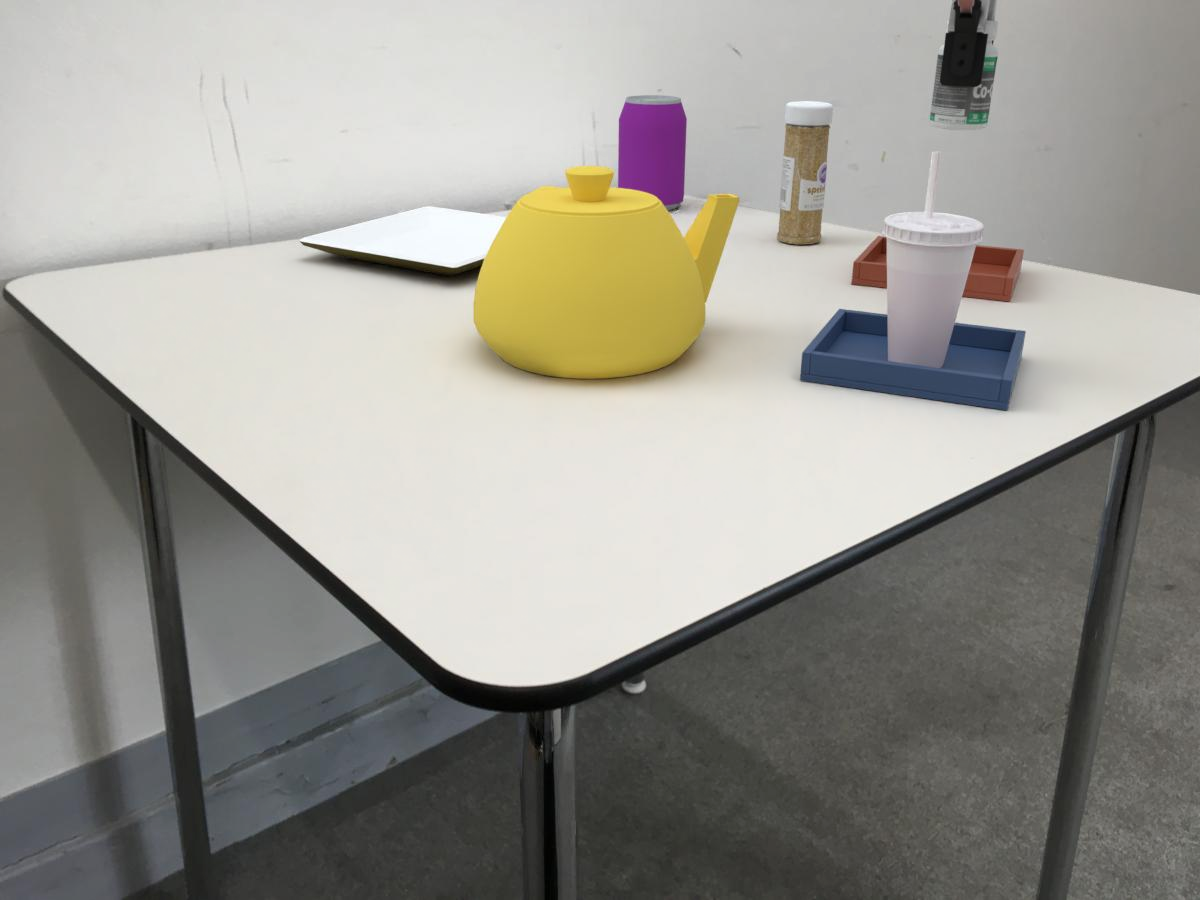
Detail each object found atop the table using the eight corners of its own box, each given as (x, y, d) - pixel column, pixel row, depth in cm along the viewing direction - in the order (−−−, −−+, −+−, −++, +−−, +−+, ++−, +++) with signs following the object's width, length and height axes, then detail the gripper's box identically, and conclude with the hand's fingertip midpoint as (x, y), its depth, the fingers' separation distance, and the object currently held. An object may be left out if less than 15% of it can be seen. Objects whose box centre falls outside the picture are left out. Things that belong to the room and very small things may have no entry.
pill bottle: (971, 132, 89) (986, 22, 86) (918, 127, 92) (931, 20, 89) (996, 127, 93) (1012, 20, 89) (945, 122, 96) (958, 18, 92)
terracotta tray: (1020, 271, 100) (1024, 249, 99) (1009, 301, 91) (1013, 278, 90) (875, 256, 105) (877, 235, 104) (851, 284, 96) (853, 261, 95)
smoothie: (920, 342, 79) (946, 143, 73) (984, 369, 74) (1018, 157, 68) (848, 354, 76) (869, 149, 71) (910, 383, 71) (938, 164, 65)
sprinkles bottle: (818, 247, 108) (830, 106, 103) (772, 243, 109) (782, 104, 104) (823, 237, 112) (836, 101, 107) (779, 234, 113) (789, 99, 108)
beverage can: (688, 201, 129) (692, 95, 124) (677, 214, 122) (681, 102, 118) (625, 198, 131) (626, 93, 126) (611, 210, 124) (612, 100, 119)
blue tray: (1021, 357, 78) (1025, 330, 77) (1007, 410, 68) (1012, 380, 67) (836, 333, 82) (839, 308, 82) (799, 380, 73) (802, 352, 72)
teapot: (525, 401, 69) (520, 198, 64) (435, 321, 85) (425, 153, 80) (789, 358, 77) (804, 175, 72) (662, 293, 93) (667, 138, 87)
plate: (299, 260, 102) (296, 238, 101) (428, 224, 117) (427, 205, 116) (456, 288, 93) (454, 265, 92) (574, 246, 108) (574, 225, 107)
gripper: (1042, -182, 75) (1001, 94, 83) (1055, -158, 89) (1019, 76, 97) (930, -178, 78) (901, 90, 85) (960, -154, 92) (932, 73, 100)
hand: (964, 80), depth 91 cm, fingers closed on pill bottle, 4 cm apart
